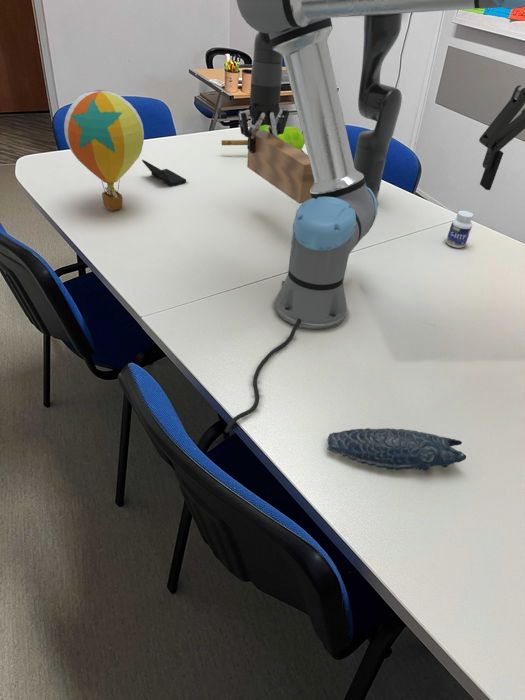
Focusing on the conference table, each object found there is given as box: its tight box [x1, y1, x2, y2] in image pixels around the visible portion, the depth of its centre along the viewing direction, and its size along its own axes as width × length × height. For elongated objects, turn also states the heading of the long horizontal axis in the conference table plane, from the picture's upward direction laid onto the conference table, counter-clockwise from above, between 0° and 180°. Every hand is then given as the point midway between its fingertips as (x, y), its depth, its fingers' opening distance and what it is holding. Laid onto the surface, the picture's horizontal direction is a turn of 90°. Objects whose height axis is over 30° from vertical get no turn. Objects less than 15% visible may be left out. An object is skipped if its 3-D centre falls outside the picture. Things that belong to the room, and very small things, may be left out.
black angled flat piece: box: [141, 159, 187, 187], centre depth 162 cm, size 12×7×10 cm
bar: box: [246, 130, 314, 205], centre depth 132 cm, size 26×5×9 cm, turn 31°
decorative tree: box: [221, 125, 305, 151], centre depth 185 cm, size 18×10×30 cm
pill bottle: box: [445, 210, 474, 249], centre depth 141 cm, size 5×5×9 cm
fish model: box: [326, 427, 467, 471], centre depth 80 cm, size 7×21×5 cm, turn 84°
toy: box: [63, 89, 145, 212], centre depth 136 cm, size 20×20×30 cm
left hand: (519, 188), depth 94 cm, fingers open, 13 cm apart
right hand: (261, 151), depth 138 cm, fingers closed on bar, 5 cm apart
